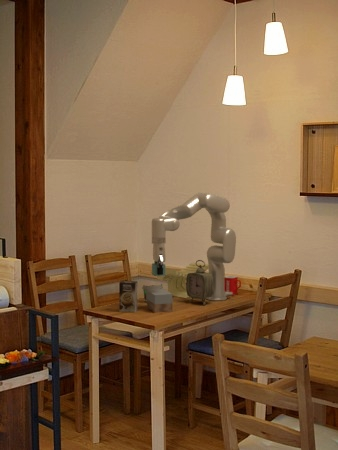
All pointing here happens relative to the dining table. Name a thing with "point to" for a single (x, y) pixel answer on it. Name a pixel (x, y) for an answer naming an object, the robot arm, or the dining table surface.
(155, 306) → the base block
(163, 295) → the white box
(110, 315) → the dining table surface
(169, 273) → the slatted curved stool
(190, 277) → the tabletop clock
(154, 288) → the food container
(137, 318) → the dining table surface
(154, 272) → the teal cube
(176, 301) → the dining table surface
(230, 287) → the mug
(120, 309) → the coffee box
